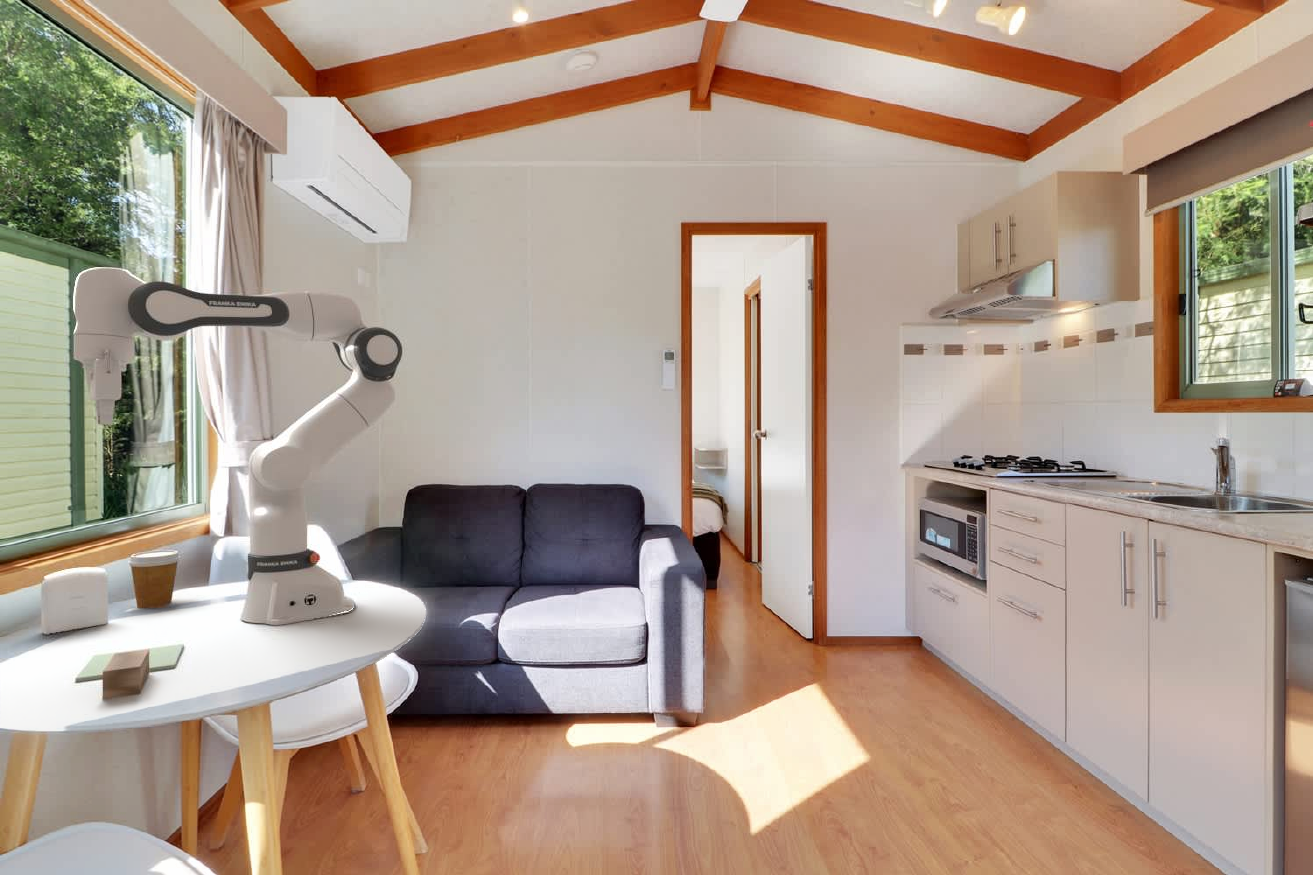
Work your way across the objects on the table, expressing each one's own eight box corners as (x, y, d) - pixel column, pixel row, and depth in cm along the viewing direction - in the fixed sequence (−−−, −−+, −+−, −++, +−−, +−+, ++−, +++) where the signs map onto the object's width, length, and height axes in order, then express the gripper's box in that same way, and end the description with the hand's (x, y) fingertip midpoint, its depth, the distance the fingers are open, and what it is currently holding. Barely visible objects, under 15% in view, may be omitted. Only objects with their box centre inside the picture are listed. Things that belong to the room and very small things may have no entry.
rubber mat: (183, 646, 120) (183, 643, 120) (174, 667, 110) (174, 664, 110) (93, 658, 114) (93, 655, 114) (75, 681, 103) (75, 678, 103)
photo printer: (42, 636, 125) (42, 574, 125) (39, 631, 128) (39, 570, 128) (110, 624, 133) (110, 566, 133) (106, 620, 136) (106, 563, 136)
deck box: (149, 675, 107) (149, 649, 107) (139, 694, 99) (140, 666, 99) (114, 680, 105) (114, 653, 105) (102, 700, 97) (102, 671, 97)
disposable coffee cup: (155, 598, 153) (155, 549, 153) (190, 600, 152) (190, 550, 152) (116, 609, 144) (117, 556, 144) (153, 611, 143) (153, 558, 143)
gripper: (131, 349, 116) (131, 425, 116) (122, 357, 131) (122, 424, 131) (84, 346, 112) (85, 424, 112) (80, 355, 126) (80, 424, 126)
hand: (105, 424), depth 121 cm, fingers open, 8 cm apart
